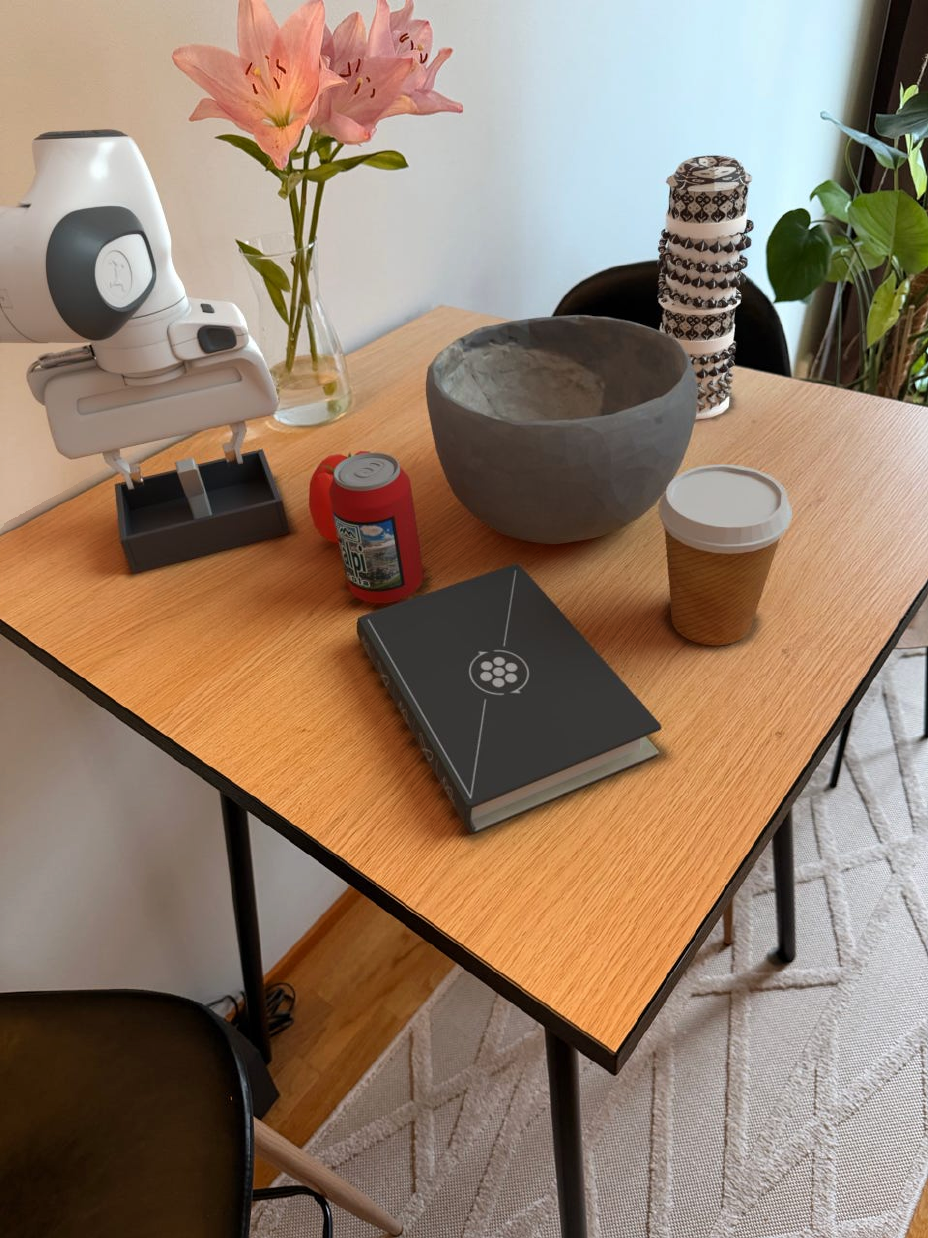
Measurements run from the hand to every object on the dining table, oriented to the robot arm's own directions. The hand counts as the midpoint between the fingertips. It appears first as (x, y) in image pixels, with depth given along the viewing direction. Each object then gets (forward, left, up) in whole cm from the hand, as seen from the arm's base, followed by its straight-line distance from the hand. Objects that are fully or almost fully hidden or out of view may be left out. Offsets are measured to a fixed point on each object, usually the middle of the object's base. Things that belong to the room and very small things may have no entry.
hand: (186, 473), depth 87 cm
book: (+18, -35, -6) cm, 40 cm away
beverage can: (+14, -18, -6) cm, 24 cm away
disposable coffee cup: (+37, -34, -6) cm, 51 cm away
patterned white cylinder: (+55, 0, -6) cm, 56 cm away
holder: (0, 0, -6) cm, 6 cm away
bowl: (+33, -13, -6) cm, 36 cm away
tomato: (+14, -9, -6) cm, 18 cm away
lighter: (0, 0, -5) cm, 5 cm away
